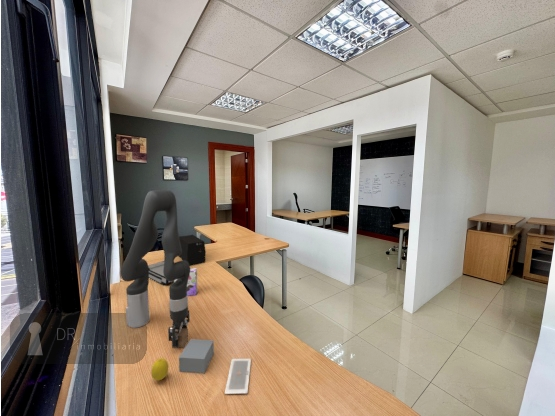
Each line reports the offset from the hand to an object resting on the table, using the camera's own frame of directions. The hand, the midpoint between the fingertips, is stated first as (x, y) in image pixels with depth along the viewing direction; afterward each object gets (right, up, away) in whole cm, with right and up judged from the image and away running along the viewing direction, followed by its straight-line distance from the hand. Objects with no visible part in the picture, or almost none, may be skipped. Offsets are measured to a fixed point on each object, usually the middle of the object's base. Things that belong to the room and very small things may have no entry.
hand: (180, 339), depth 99 cm
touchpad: (+29, -5, -16) cm, 34 cm away
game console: (-40, +6, +70) cm, 81 cm away
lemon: (0, -4, -18) cm, 18 cm away
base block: (+11, -3, -10) cm, 15 cm away
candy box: (-16, +3, +44) cm, 47 cm away
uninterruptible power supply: (-37, +11, +108) cm, 115 cm away
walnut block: (0, -2, 0) cm, 2 cm away
